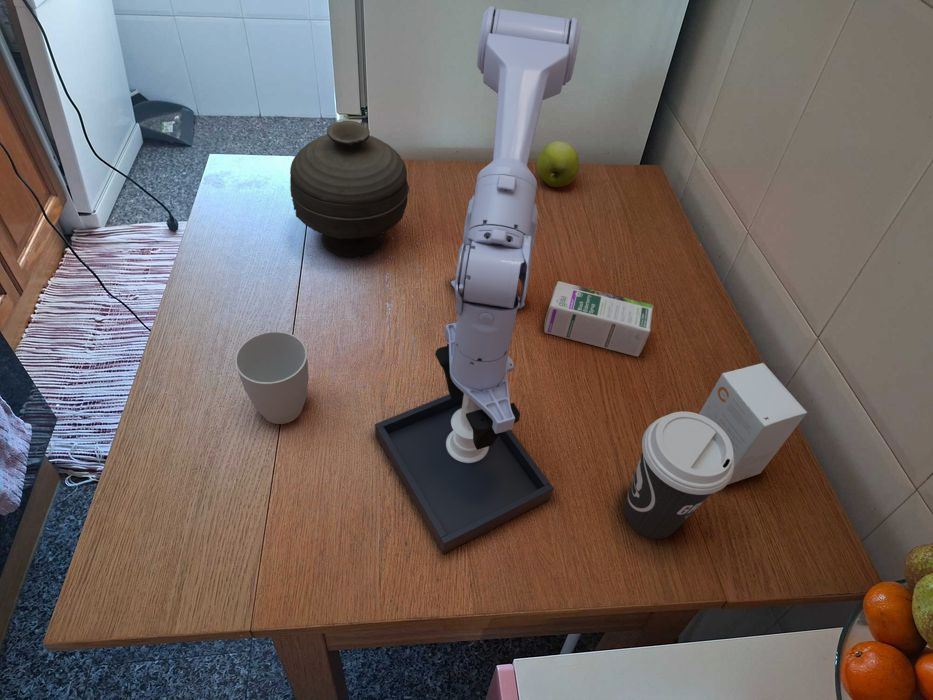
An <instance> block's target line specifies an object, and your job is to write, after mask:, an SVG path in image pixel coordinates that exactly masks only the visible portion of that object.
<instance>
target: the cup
mask: <svg viewBox="0 0 933 700" xmlns="http://www.w3.org/2000/svg"><path fill="white" fill-rule="evenodd" d="M234 364H235V368H236V371H237V373H238V377H239V379H240V382H241V384H242V386H243V389H244V392H245V394H247V396H248V398H249V400H250V401H251V403H252V405H253V406H254V408H255V409H256V411H258V413H259V414H260V415H261V416H263V418H264V419H265V420H266V421H268V422H269V423H272V424H275V425H284V424H288V423H291V422H293V421H295V420H296V419H297V418H298V417H299V416H300V415H301V413H302V411H303V409H304V406H305V403H306V400H307V395H308V387H309V386H308V384H309V363H308V351H307V347H306V345H305V343H304V342H303V341H302V340H301V338H299V337H298V336H296V335H294V334H292V333H290V332H285V331H280V330H279V331H278V330H272V331H265V332H261V333H258V334H255V335H253V336H252V337H249V338H248V339H246V340H245V341H244V342H243V343H242V344H241V345H240V347H239V348H238V349H237V351H236V354H235V356H234Z"/></svg>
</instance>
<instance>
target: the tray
mask: <svg viewBox="0 0 933 700" xmlns="http://www.w3.org/2000/svg"><path fill="white" fill-rule="evenodd" d="M462 404H463V396H461V397H458V398H454V399H452V398H451V396H450V394H449V393H448V394H446V395H444V396H441V397H439V398H436V399H434V400H431V401H429V402H426V403H424V404H421V405H418V406H416V407H414V408H410V409H409V410H406V411H404V412H401V413H399V414H396V415H394V416H392V417H389V418H387V419H383V420H381V421H378V422H377V423H374V435H375V438H376V441H377V442H378V443H379V445H380V447H381V449H382V450H383V452H384V454H385V455H386V457H387V459H388V461H389V462H390V464H391V466H392V467H393V470H394V471H395V473H396V475H397V477H398V478H399V480H400V482H401V484H402V485H403V487H404V489H405V491H406V492H407V494H408V496H409V497H410V499H411V501H412V503H413V505H414V506H415V508H416V510H417V512H418V513H419V515H420V517H421V518H422V520H423V522H424V524H425V526H426V527H427V529H428V530H429V532H430V535H431V536H432V537H433V539H434V541H435V543H436V545H437V546H438V548H439V550H440V551H441V554H442V555H444V554H446V553H448V552H449V551H452V550H454V549H455V548H458V547H460V546H461V545H464V544H466V543H467V542H469V541H471V540H474V539H475V538H477V537H479V536H481V535H483V534H485V533H487V532H489V531H491V530H493V529H495V528H497V527H499V526H501V525H502V524H504V523H507V522H508V521H510V520H512V519H514V518H517V517H518V516H520V515H522V514H524V513H526V512H529V511H530V510H532V509H534V508H536V507H537V506H539V505H543V504H544V503H546V502H547V501H549V500H551V497H552V494H553V491H554V486H553V485H552V484H551V483H550V481H549V479H547V477H546V476H545V474H544V473H543V472H542V470H541V469H540V467H539V466H538V464H537V463H536V462H535V460H534V459H533V458H532V456H531V455H530V454H529V452H528V451H527V450H526V448H525V447H524V446H523V444H522V443H521V441H520V440H519V439H518V437H517V436H516V435H515V433H514V432H513V430H512V429H511V430H507V431H505V432H502V433H501V434H500V435H499V436H498V437H497V439H496V440H495V442H494V443H493V445H491V446H489V449H488V452H487V454H486V455H485V457H484V458H482V459H481V460H479V461H477V462H474V463H463V462H460V461H458V460H456V459H454V458H453V457H452V456H451V455H450V454H449V452H448V451H447V448H446V440H447V437H448V435H449V434H450V433H451V432H452V431H453V428H452V426H451V419H452V416H453V414H454V413H455V412H456V411H457V410H459V409H461V408H462Z"/></svg>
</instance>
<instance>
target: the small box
mask: <svg viewBox="0 0 933 700" xmlns="http://www.w3.org/2000/svg"><path fill="white" fill-rule="evenodd" d="M698 414H700V415H702V416H705V417H707V418H709V419H710V420H712V421H713V422H715V423H716V424H717V425H719V426H720V427H721V428H722V429H723V430H724V432H725V433H726V434H727V436H728V437H729V439H730V441H731V444H732V447H733V454H734V471H733V475H732V478H731V480H730V481H729V483H728V484H727V485H731V484H733V483H736V482H739V481H743V480H746V479H748V478H751V477H754V476H757V475H760V474H761V473H762V472H763V471H764V470H765V468H766V467H767V466H768V464H769V463H770V462H771V460H772V459H773V458H774V457H775V455H776V454H777V453H778V452H779V451H780V449H781V447H783V445H784V444H785V442H786V441H787V440H788V439H789V437H790V436H791V435H792V433H793V432H794V431H795V429H796V428H797V427H798V425H799V424H800V423H801V421H802V420H803V419H804V418H805V416H806V415H807V414H808V411H807V410H806V409H805V408H804V407H803V406H802V405H801V404H800V403H799V401H798V400H797V399H796V398H795V397H794V396H793V395H792V393H791V392H790V391H789V390H788V389H787V388H786V386H784V384H783V383H782V382H781V381H780V380H779V379H778V378H777V376H776V375H775V374H774V373H773V371H772V370H770V368H769V367H768V366H767V364H765V363H764V362H760V363H757V364H754V365H749V366H746V367H742V368H738V369H734V370H729V371H726V372H722V373H721V375H720V377H719V378H718V380H717V382H716V383H715V385H714V386H713V389H712V391H711V392H710V394H709V396H708V397H707V398H706V401H704V404H703V406H702V407H701V409H700V411H699V413H698ZM727 485H726V486H727Z"/></svg>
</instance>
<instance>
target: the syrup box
mask: <svg viewBox="0 0 933 700" xmlns="http://www.w3.org/2000/svg"><path fill="white" fill-rule="evenodd" d="M653 310H654V305H653V304H652V303H649V302H648V303H647V302H644V301H639V300H636V299H631V298H627V297H623V296H621V295H615V294H612V293H608V292H604V291H600V290H595V289H592V288H588V287H585V286H580V285H576V284H572V283H567V282H564V281H560V280H558V281H557V282H556V284H555V285H554V289H553V291H552V294H551V299H550V302H549V304H548V308H547V312H546V315H545V319H544V325H543V332H544V333H545V334H549V335H551V336H555V337H559V338H564V339H568V340H571V341H575V342H579V343H582V344H587V345H590V346H594V347H599V348H602V349H606V350H610V351H613V352H618V353H620V354H621V353H622V354H625V355H629V356H632V357H639V356H640V355H641V353H642V351H643V349H644V347H645V345H646V342H647V341H648V338H649V335H650V333H651V325H652V317H653Z"/></svg>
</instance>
